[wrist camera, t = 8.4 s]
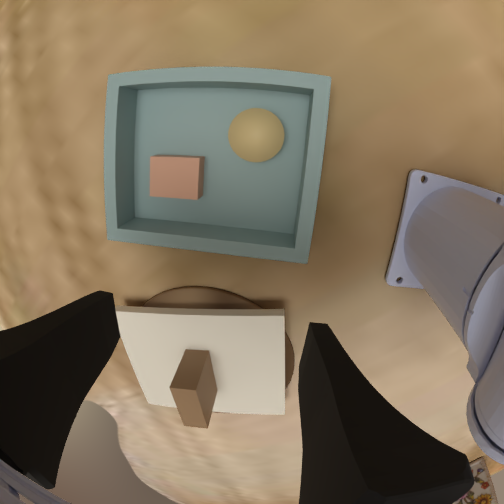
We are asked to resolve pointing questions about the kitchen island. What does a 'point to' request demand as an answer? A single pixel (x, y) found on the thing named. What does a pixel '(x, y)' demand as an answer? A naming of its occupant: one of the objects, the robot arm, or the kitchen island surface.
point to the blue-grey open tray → (215, 159)
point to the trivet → (214, 300)
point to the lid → (207, 359)
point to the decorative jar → (479, 486)
